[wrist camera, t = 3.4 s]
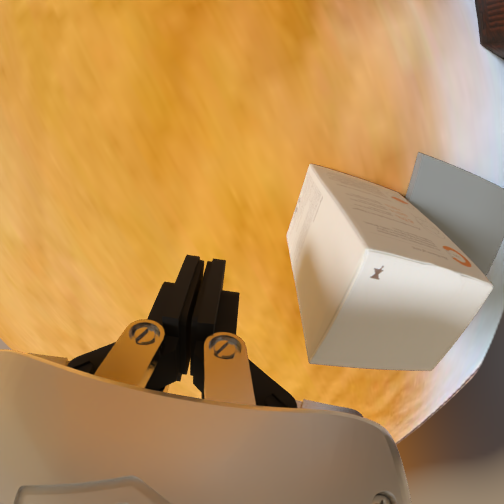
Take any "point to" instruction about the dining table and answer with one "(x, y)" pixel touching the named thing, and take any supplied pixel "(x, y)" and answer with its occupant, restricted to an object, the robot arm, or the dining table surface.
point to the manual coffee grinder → (491, 24)
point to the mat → (460, 207)
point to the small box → (376, 277)
